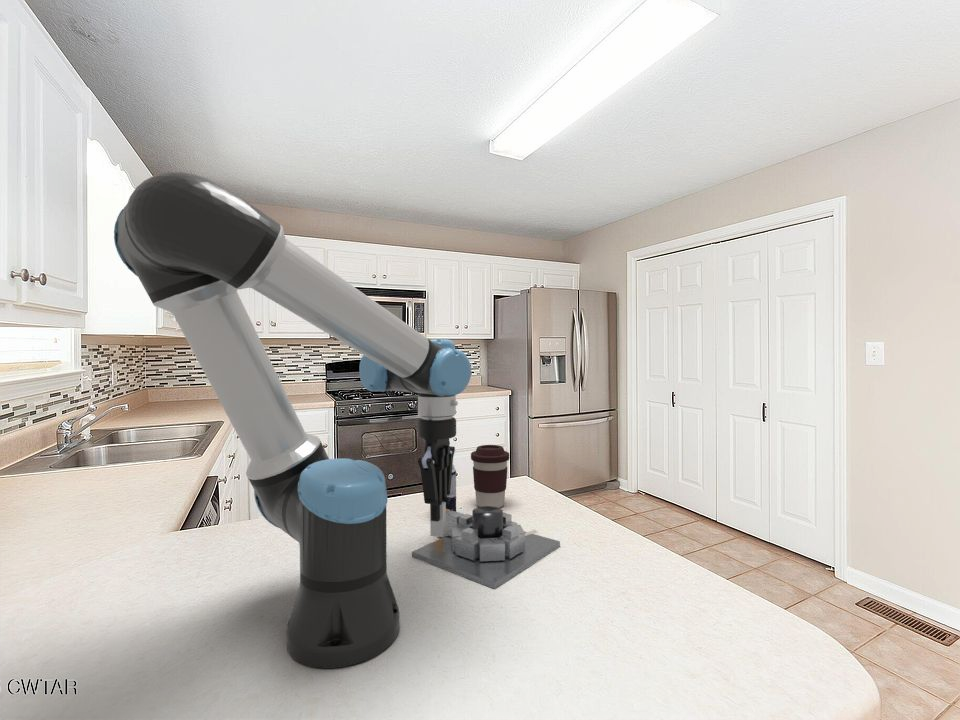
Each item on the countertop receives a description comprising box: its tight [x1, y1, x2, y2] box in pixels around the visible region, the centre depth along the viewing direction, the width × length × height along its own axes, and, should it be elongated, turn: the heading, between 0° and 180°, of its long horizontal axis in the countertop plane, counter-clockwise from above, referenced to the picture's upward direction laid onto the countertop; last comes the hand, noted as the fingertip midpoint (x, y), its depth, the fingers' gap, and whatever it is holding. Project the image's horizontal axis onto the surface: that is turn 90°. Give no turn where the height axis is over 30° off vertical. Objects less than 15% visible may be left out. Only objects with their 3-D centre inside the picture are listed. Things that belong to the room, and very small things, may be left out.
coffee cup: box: [470, 444, 510, 509], centre depth 122 cm, size 10×10×15 cm
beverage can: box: [445, 464, 457, 512], centre depth 114 cm, size 6×6×12 cm
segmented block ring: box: [445, 509, 526, 562], centre depth 95 cm, size 14×20×5 cm
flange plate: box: [411, 506, 561, 590], centre depth 95 cm, size 24×23×8 cm
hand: (438, 534), depth 94 cm, fingers closed
